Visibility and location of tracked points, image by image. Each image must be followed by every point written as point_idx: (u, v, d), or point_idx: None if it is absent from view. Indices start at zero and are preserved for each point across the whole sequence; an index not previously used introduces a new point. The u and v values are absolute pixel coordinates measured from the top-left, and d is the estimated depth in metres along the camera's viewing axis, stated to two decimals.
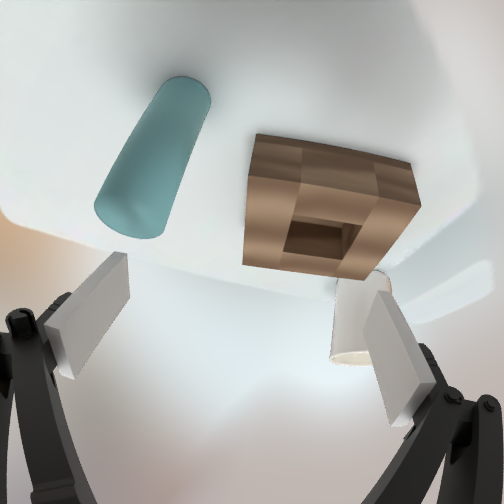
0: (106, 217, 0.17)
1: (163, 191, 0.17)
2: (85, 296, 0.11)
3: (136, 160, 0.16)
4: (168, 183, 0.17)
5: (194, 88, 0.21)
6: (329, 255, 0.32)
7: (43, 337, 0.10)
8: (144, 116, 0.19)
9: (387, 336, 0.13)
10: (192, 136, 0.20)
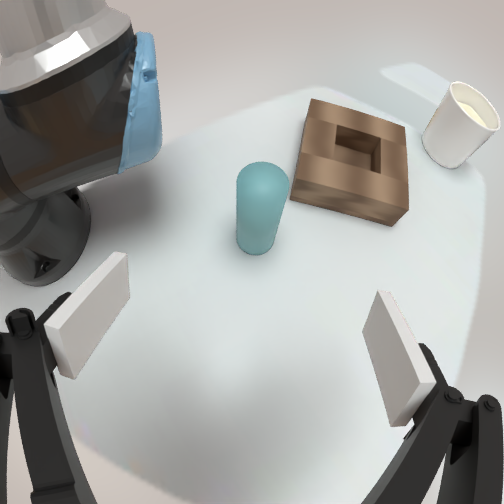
0: (262, 199, 0.26)
1: None
2: (85, 296, 0.11)
3: None
4: None
5: None
6: (379, 147, 0.37)
7: (43, 337, 0.10)
8: (237, 224, 0.32)
9: (387, 336, 0.13)
10: None
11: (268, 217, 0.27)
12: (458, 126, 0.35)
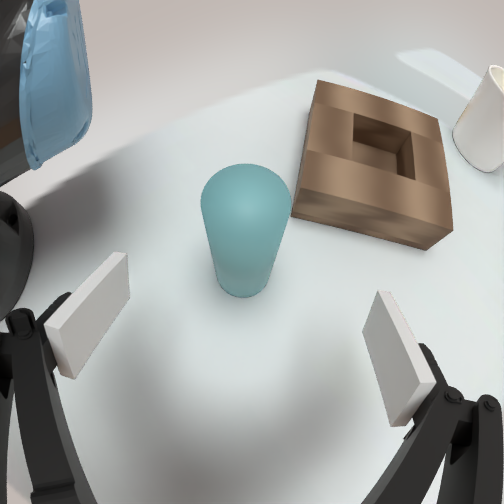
0: (244, 230, 0.15)
1: None
2: (85, 296, 0.11)
3: None
4: None
5: None
6: (410, 143, 0.27)
7: (43, 337, 0.10)
8: (213, 260, 0.21)
9: (387, 336, 0.13)
10: None
11: (257, 256, 0.17)
12: (502, 119, 0.24)
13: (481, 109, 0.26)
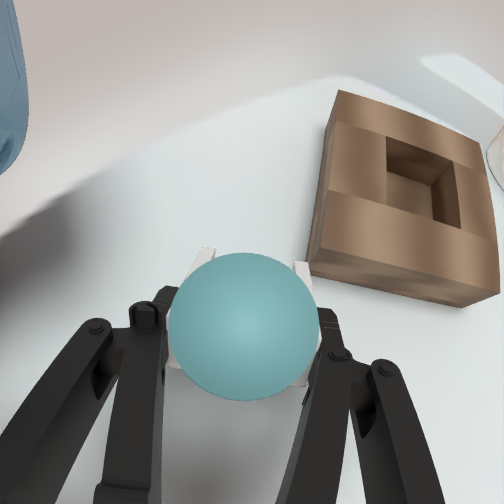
0: (241, 380, 0.08)
1: None
2: None
3: None
4: None
5: None
6: (452, 177, 0.20)
7: None
8: None
9: None
10: None
11: None
12: None
13: None
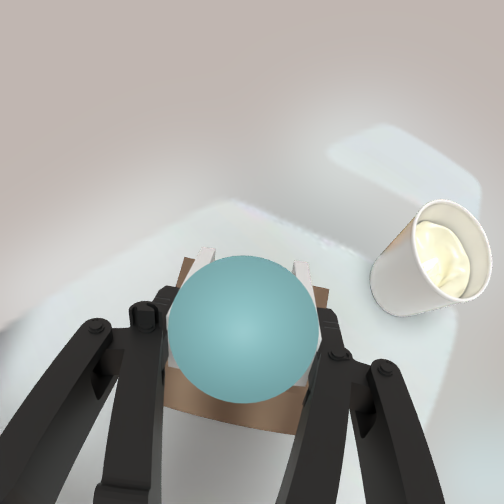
0: (241, 382, 0.08)
1: None
2: None
3: None
4: None
5: None
6: None
7: None
8: None
9: None
10: None
11: None
12: (416, 291, 0.25)
13: (395, 269, 0.28)
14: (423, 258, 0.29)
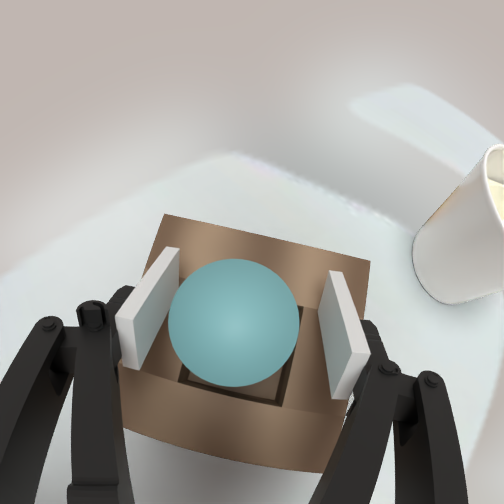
0: (230, 368, 0.10)
1: None
2: (151, 288, 0.13)
3: None
4: None
5: None
6: None
7: (111, 329, 0.11)
8: None
9: (332, 312, 0.14)
10: None
11: None
12: (489, 262, 0.16)
13: (457, 233, 0.18)
14: None
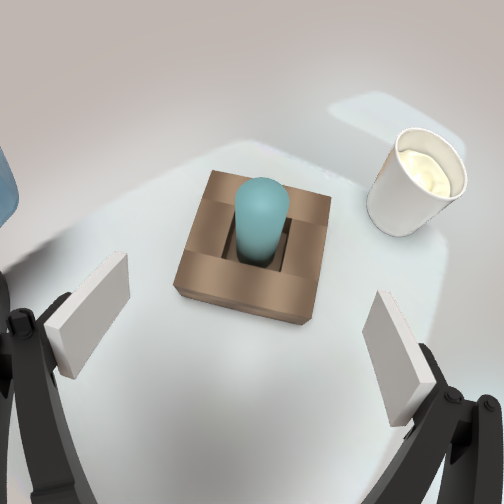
0: (261, 217, 0.25)
1: None
2: (85, 296, 0.11)
3: None
4: None
5: None
6: (289, 231, 0.34)
7: (43, 337, 0.10)
8: (236, 240, 0.32)
9: (387, 336, 0.13)
10: None
11: (268, 234, 0.27)
12: (403, 194, 0.31)
13: (385, 181, 0.33)
14: None
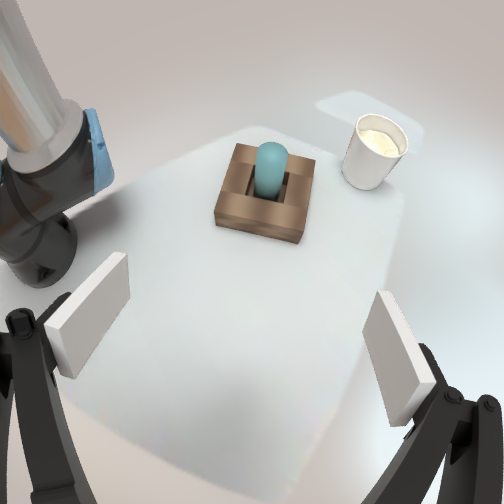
0: (272, 162, 0.42)
1: None
2: (85, 296, 0.11)
3: None
4: None
5: None
6: (288, 180, 0.51)
7: (43, 337, 0.10)
8: (255, 183, 0.49)
9: (387, 336, 0.13)
10: None
11: (275, 174, 0.44)
12: (362, 156, 0.48)
13: (351, 149, 0.51)
14: None
